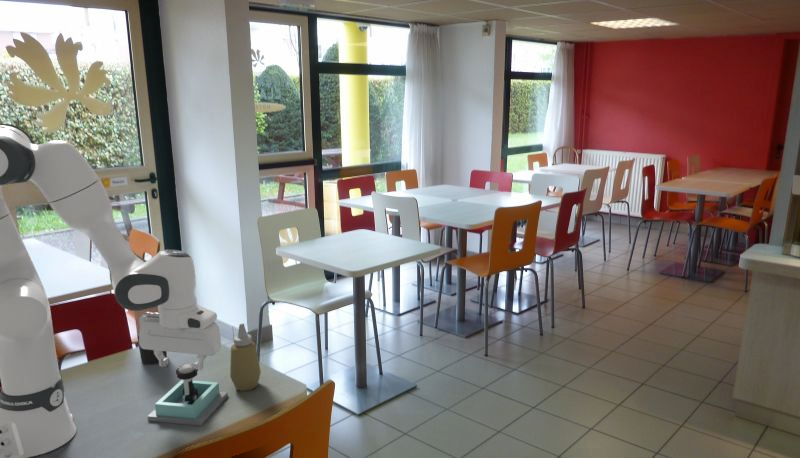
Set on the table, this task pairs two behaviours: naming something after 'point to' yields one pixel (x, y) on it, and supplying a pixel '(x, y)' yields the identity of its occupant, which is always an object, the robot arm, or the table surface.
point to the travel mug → (145, 354)
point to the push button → (188, 382)
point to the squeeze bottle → (244, 361)
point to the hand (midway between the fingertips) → (181, 367)
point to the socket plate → (195, 414)
